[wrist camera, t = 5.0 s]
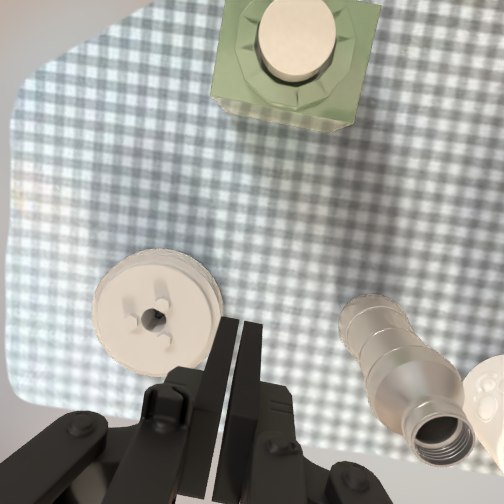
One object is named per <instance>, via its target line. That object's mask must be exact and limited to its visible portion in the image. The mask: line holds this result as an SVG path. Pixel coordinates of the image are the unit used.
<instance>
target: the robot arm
mask: <svg viewBox="0 0 504 504" xmlns="http://www.w3.org/2000/svg"><path fill="white" fill-rule="evenodd" d="M238 324H239V319H234V318H229V317H224V316H221V318H220V322H219V325H218V328H217V331H216V335H215V338H214V341H213V344H212V347H211V351H210V354H209V357H208V360H207V364H206V367H205V370H204V371H201V370H197V369H192V368H187V367H182V366H177V367H175V368H174V369H172V370H171V371H169V372H168V374H167V376H166V379H165V381H164V383H162V384H156V385H153V386H151V387H149V388H148V389H147V390H146V391H145V393H144V400H143V406H142V412H141V419H140V421H139V423H138V424H136V425H132V426H129V427H119V428H118V427H117V428H108V422H107V420H106V419H105V417H104V416H102V415H100V414H98V413H96V412H91V411H75V412H71V413H67V414H65V415H64V416H62V417H60V418H58V419H57V420H56V421H54V422H53V423H52V424H50V425H49V426H48V427H47V428H45V429H44V430H43V431H42V432H40V433H39V434H38V435H36V436H35V437H34V438H32V439H31V440H30V441H29V442H27V443H26V444H25V445H23V446H22V447H21V448H20V449H18V450H17V451H16V452H14V453H13V454H12V455H11V456H9V457H8V458H7V459H5V460H4V461H3V462H2V463H0V504H175V501H176V496H177V494H179V495H183V496H188V497H193V498H198V499H204V497H205V492H206V487H207V482H208V477H209V472H210V467H211V462H212V457H213V452H214V447H215V443H216V438H217V433H218V428H219V423H220V418H221V413H222V408H223V402H224V397H225V392H226V387H227V382H228V376H229V371H230V366H231V361H232V356H233V350H234V345H235V340H236V335H237V330H238ZM262 329H263V324H258V323H253V322H248V321H244V326H243V331H242V336H241V341H240V345H239V350H238V355H237V360H236V365H235V370H234V375H233V380H232V385H231V391H230V397H229V403H228V409H227V414H226V420H225V426H224V432H223V438H222V444H221V450H220V455H219V461H218V467H217V473H216V479H215V485H214V490H213V496H212V501H213V502H218V503H223V504H239V502H240V504H393V503H392V501H391V499H390V498H389V496H388V494H387V493H386V491H385V489H384V488H383V486H382V484H381V483H380V481H379V480H378V479H377V477H376V476H375V475H374V474H373V473H372V472H371V471H369V470H368V469H367V468H365V467H364V466H361V465H359V464H357V463H353V462H347V461H342V462H337V463H336V464H334V465H332V467H331V470H330V471H329V470H327V469H324V468H322V467H320V466H318V465H316V464H314V463H312V462H311V461H309V460H308V459H307V458H305V457H304V456H303V451H302V448H301V446H300V444H299V443H298V442H297V441H296V436H295V425H294V414H293V402H292V395H291V393H290V392H289V391H288V389H287V388H286V386H282V385H277V384H272V383H267V382H262V381H260V370H261V349H262ZM240 498H241V499H240Z"/></svg>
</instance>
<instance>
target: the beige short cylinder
mask: <svg viewBox="0 0 504 504" xmlns="http://www.w3.org/2000/svg"><path fill="white" fill-rule="evenodd" d="M335 39H336V25H335V20H334V17H333V15H332V13H331V11H330V9H329V8H328V6H327V5H326V4H325V3H324V2H323V1H322V0H274V1H273V2H272V3H271V4H270V5H269V6H268V8H267V9H266V11H265V12H264V14H263V16H262V19H261V21H260V25H259V47H260V54H261V58H262V61H263V63H264V65H265V66H266V68H267V69H268V71H269V72H270V73H271V74H273V75H274V76H275V77H277V78H278V79H281V80H283V81H286V82H301V81H305V80H307V79H309V78H311V77H313V76H314V75H315V74H317V73H318V72H319V71H320V70H321V68H322V67H323V66H324V64H325V62H326V61H327V59H328V57H329V55H330V54H331V52H332V49H333V47H334V44H335Z"/></svg>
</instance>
